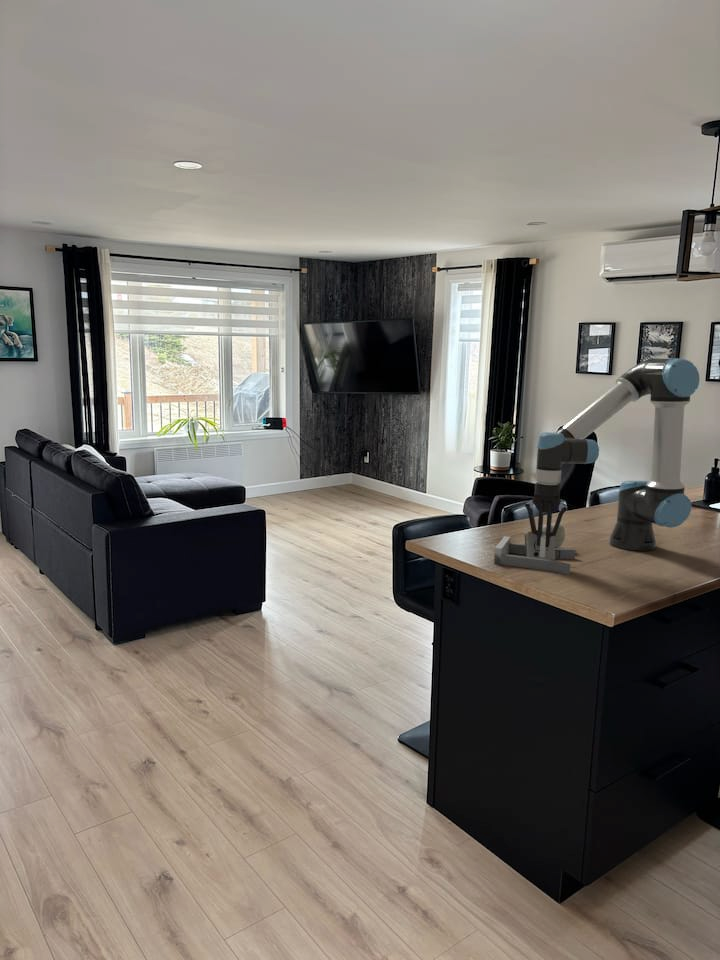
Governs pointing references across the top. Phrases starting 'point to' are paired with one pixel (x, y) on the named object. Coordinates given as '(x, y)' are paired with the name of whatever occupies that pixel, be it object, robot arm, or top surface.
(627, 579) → the top surface
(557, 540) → the decorative object
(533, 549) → the electrical switch
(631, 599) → the top surface
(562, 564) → the rail channel
